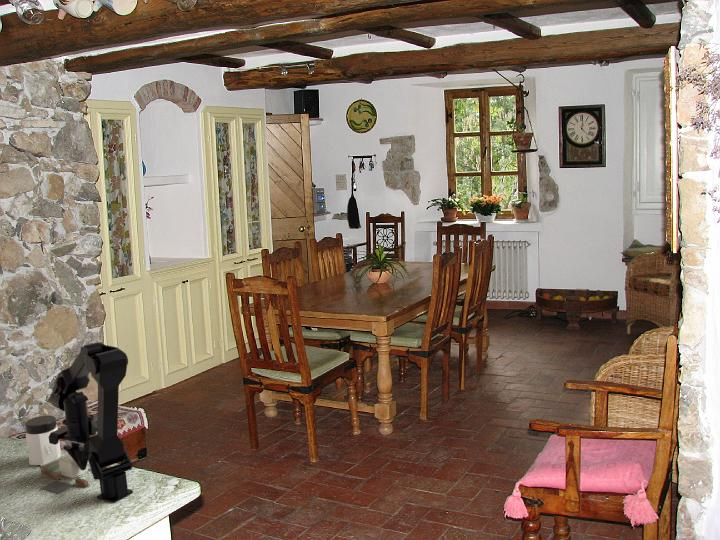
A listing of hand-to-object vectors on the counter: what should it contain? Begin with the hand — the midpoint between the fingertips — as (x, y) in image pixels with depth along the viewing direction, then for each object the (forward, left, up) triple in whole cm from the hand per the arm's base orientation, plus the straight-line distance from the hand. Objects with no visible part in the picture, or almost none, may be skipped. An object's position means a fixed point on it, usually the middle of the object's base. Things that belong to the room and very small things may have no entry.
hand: (83, 469), depth 204 cm
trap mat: (+1, +8, -2) cm, 8 cm away
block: (+4, 0, -2) cm, 4 cm away
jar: (+19, -2, -2) cm, 20 cm away
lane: (+2, 0, -2) cm, 3 cm away
